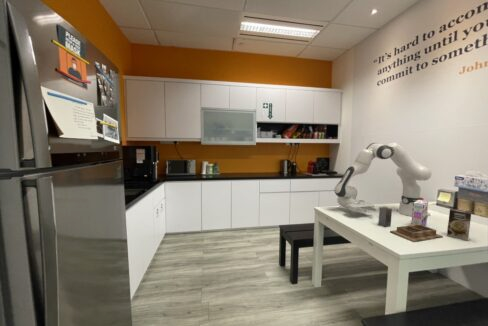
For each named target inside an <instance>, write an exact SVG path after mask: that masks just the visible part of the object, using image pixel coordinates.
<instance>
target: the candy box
mask: <svg viewBox="0 0 488 326" xmlns="http://www.w3.org/2000/svg"><path fill="white" fill-rule="evenodd" d="M428 209H429V201H427V200H418V201H416V202H414V203H413V212H412V216H411V224H410V225H416V224H420V225H423V226H426V225H427V221H428V216H427V213H429V212H428V211H429V210H428Z"/></svg>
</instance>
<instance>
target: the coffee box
mask: <svg viewBox="0 0 488 326" xmlns="http://www.w3.org/2000/svg"><path fill="white" fill-rule="evenodd" d="M471 221H472V211H469V210H468V211H467V210H463V209H457V208H449V215H448V222H447V223H448V225H447V231H446V237H449V238H450V237H451V238H455V239H459V240H464V241H469V236H470V228H471Z"/></svg>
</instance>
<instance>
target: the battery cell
mask: <svg viewBox="0 0 488 326" xmlns="http://www.w3.org/2000/svg"><path fill="white" fill-rule="evenodd" d="M392 213H393V209H392V208H391V207H388V206H381V207H379V210H378V223H377V225H379V226H381V227H383V228H389V227H390V228H391V227H392Z"/></svg>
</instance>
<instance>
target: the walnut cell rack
mask: <svg viewBox="0 0 488 326" xmlns="http://www.w3.org/2000/svg"><path fill="white" fill-rule="evenodd" d="M389 232H390V233H391V234H393V235H395V236H398V237H400V238H403V239H405V240H407V241H409V242H413V243H419V242H423V241H429V240H436V239H441V238H444V237H443V236H444V235H442V234H439V233H437V229H435V228H431V227H429V226H426V225H425V226H423V225H420V224H416V225H411V224H409V225H402V226H397V227H396V229H394V230H393V229H392V230H390V231H389Z"/></svg>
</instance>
